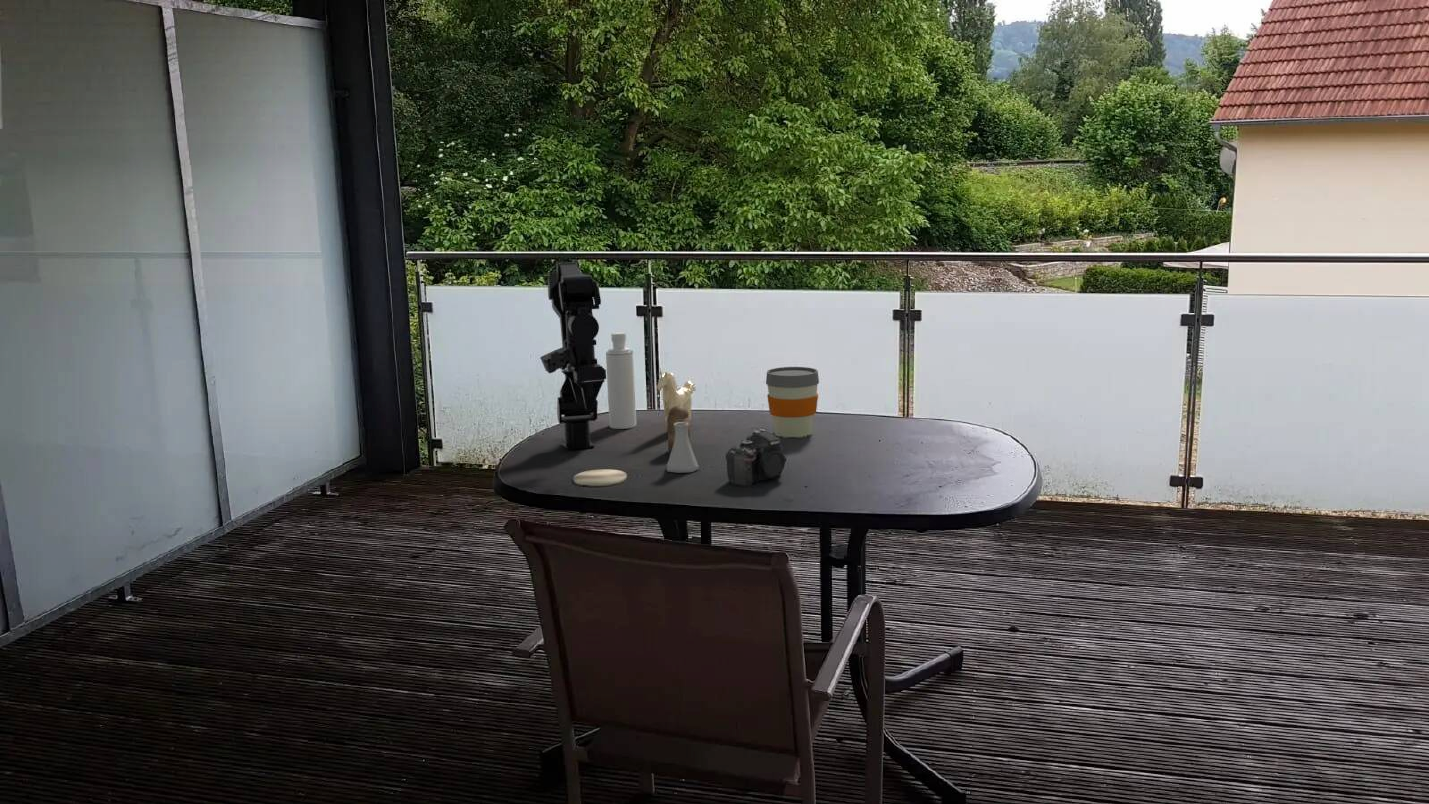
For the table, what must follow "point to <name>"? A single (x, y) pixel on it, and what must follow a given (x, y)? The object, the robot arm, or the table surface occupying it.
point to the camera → (755, 459)
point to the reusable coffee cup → (792, 400)
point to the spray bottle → (620, 383)
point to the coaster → (600, 477)
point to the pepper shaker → (673, 417)
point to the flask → (682, 451)
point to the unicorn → (675, 393)
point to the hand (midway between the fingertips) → (584, 407)
